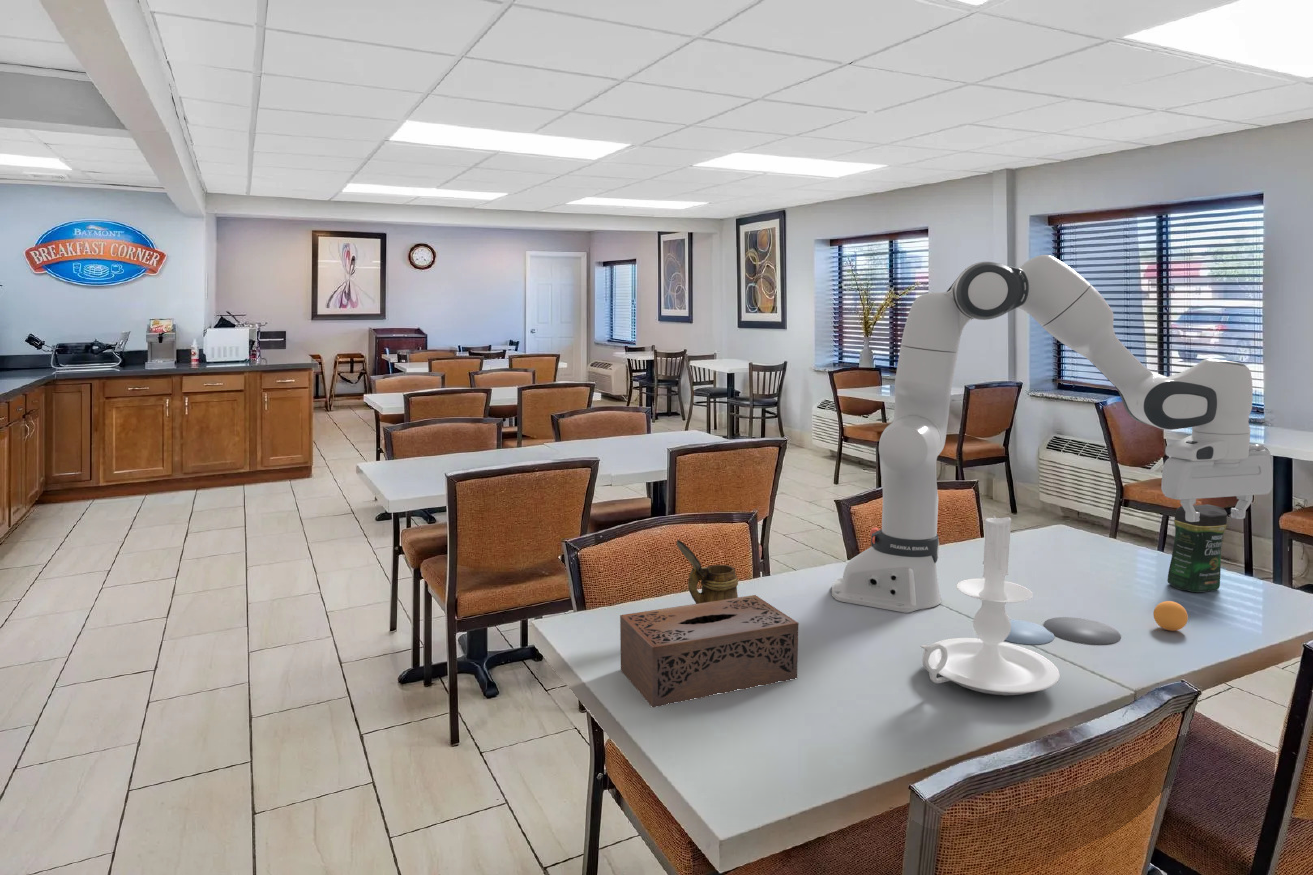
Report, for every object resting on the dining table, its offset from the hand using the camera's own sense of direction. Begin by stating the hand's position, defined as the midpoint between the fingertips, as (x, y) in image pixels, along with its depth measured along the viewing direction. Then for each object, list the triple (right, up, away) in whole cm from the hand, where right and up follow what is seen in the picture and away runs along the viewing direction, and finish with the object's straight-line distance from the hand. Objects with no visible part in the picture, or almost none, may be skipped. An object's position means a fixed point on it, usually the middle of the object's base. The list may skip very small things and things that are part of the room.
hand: (1215, 519), depth 150 cm
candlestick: (-52, -25, -20) cm, 61 cm away
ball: (-7, -18, +2) cm, 20 cm away
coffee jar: (+13, -18, +26) cm, 34 cm away
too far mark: (-36, -21, +1) cm, 42 cm away
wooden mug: (-95, -21, +5) cm, 97 cm away
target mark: (-24, -21, +2) cm, 32 cm away
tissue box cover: (-96, -25, -16) cm, 101 cm away
